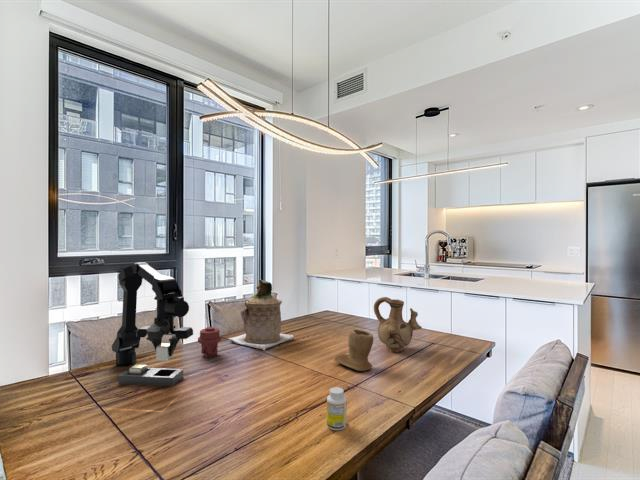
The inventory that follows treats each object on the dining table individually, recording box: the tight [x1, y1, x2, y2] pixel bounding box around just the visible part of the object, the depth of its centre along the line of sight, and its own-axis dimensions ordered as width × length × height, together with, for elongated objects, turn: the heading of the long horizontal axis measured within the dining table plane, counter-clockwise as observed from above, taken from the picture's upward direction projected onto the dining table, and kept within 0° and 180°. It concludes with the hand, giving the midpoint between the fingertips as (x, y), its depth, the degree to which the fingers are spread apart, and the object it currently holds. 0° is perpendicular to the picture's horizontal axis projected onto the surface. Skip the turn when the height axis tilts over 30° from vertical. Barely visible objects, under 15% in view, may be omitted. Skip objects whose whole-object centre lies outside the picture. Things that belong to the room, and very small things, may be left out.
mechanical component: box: [197, 326, 222, 359], centre depth 153 cm, size 12×10×10 cm
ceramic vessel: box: [373, 296, 423, 352], centre depth 164 cm, size 18×19×25 cm
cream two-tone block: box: [155, 342, 175, 362], centre depth 125 cm, size 4×4×5 cm
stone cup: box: [333, 328, 374, 372], centre depth 142 cm, size 15×12×15 cm
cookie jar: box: [228, 279, 295, 351], centre depth 176 cm, size 25×25×32 cm
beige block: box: [129, 364, 148, 375], centre depth 125 cm, size 4×4×5 cm
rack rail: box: [117, 367, 184, 387], centre depth 125 cm, size 20×8×4 cm, turn 86°
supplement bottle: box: [326, 386, 347, 431], centre depth 97 cm, size 6×6×10 cm
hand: (165, 355), depth 125 cm, fingers closed on cream two-tone block, 4 cm apart
